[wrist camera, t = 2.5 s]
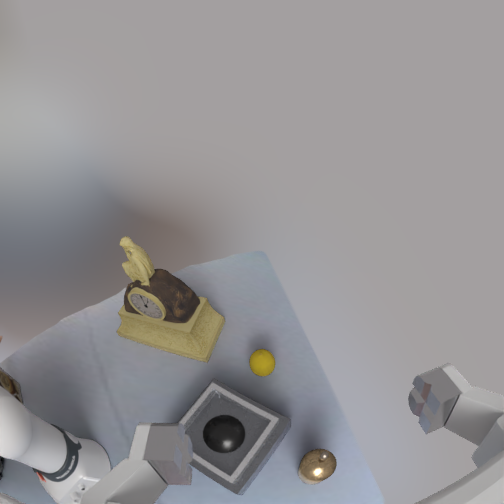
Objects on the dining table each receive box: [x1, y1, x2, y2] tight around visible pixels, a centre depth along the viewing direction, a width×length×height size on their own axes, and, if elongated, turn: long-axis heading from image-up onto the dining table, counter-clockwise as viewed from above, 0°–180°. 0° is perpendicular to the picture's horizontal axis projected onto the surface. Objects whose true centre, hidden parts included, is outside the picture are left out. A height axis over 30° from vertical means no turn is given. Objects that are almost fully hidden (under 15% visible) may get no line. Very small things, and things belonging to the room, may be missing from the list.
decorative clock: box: [117, 236, 225, 363], centre depth 65 cm, size 28×13×30 cm, turn 74°
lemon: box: [249, 349, 275, 376], centre depth 60 cm, size 6×6×8 cm
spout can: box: [298, 449, 336, 485], centre depth 37 cm, size 6×6×16 cm
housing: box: [178, 379, 291, 495], centre depth 47 cm, size 18×18×8 cm
